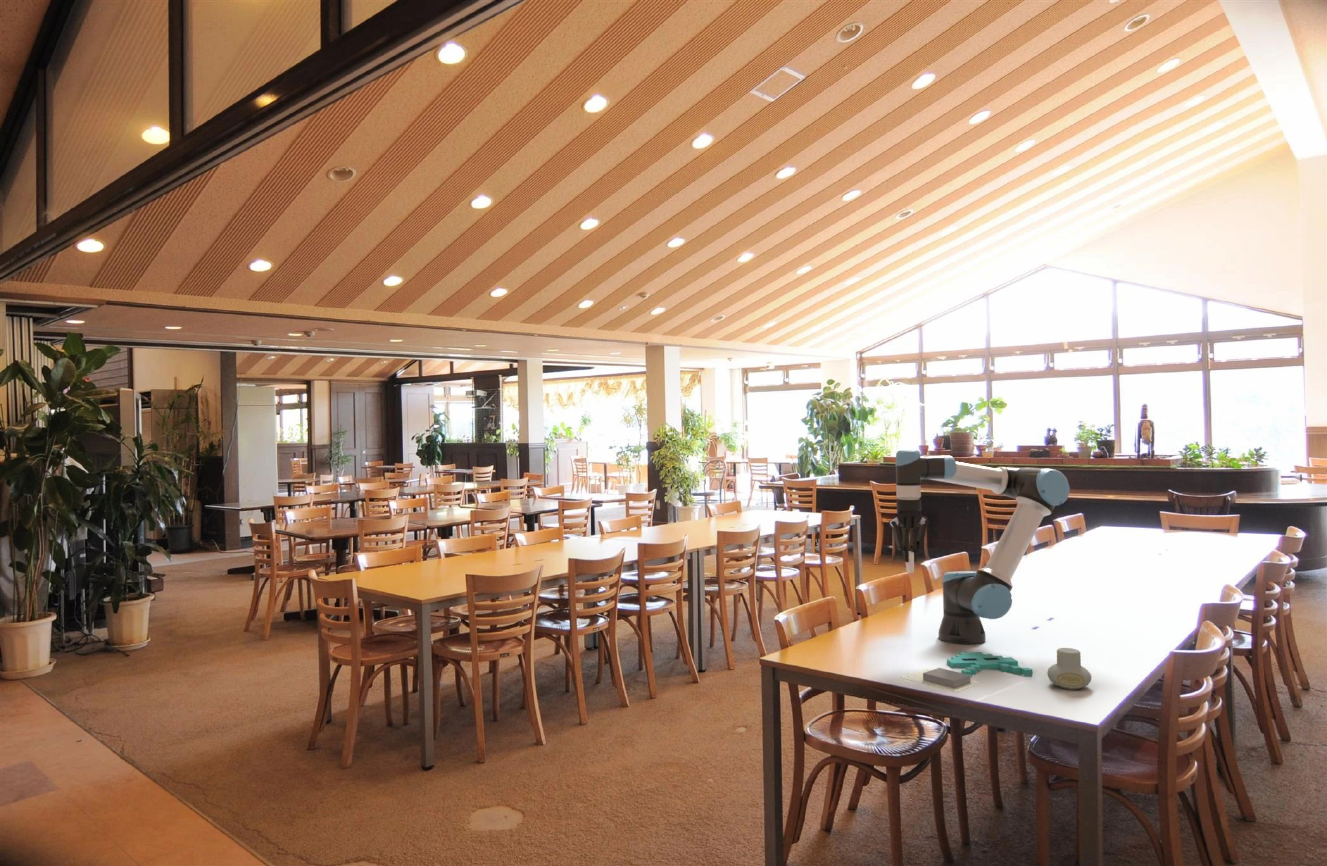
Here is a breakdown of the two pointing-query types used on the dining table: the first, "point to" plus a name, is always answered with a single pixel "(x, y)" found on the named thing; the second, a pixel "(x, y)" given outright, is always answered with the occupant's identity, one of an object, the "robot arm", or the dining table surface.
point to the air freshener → (1069, 670)
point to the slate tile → (946, 677)
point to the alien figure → (986, 663)
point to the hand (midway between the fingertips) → (910, 572)
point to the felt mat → (919, 678)
